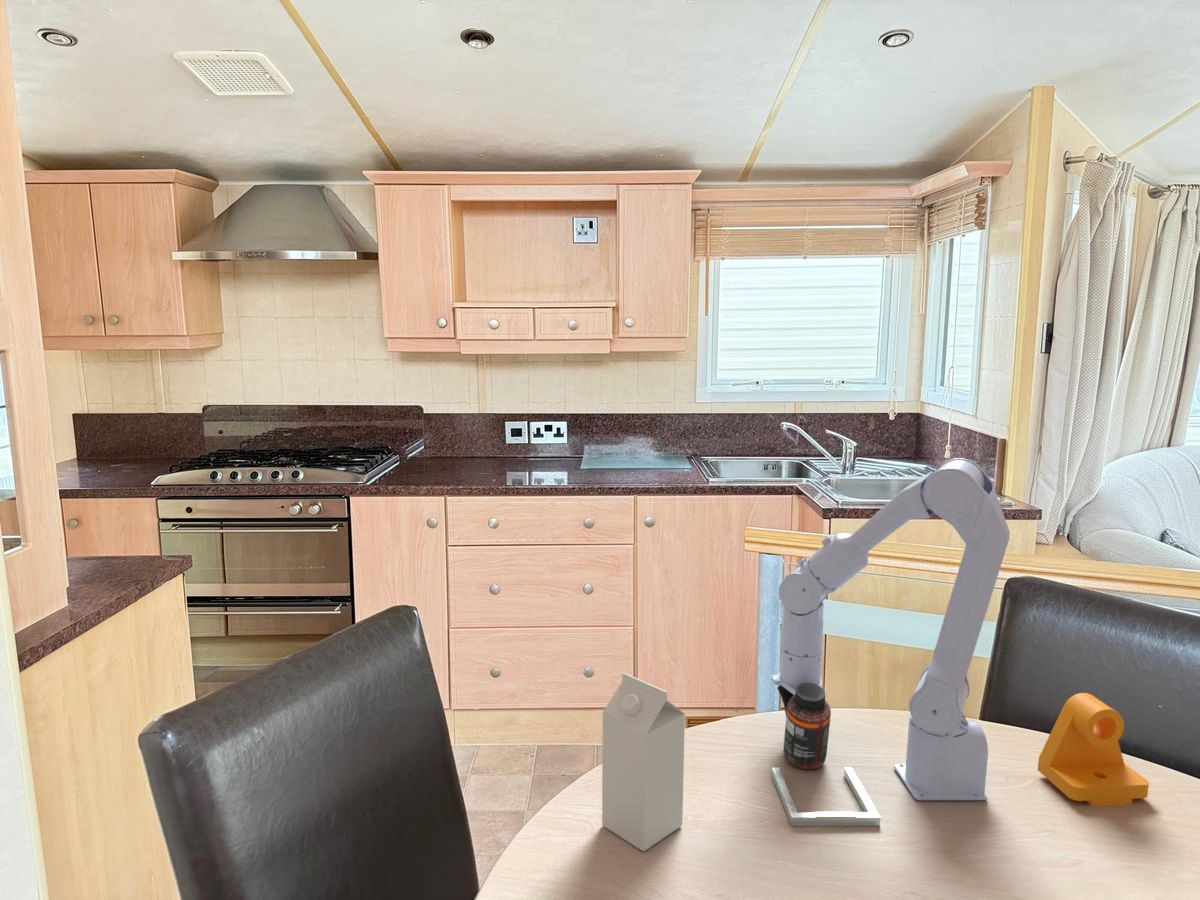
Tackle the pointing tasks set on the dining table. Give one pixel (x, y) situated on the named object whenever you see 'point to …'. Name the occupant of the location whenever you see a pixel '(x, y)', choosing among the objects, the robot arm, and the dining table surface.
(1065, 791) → the bracket
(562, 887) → the dining table surface
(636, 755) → the milk carton
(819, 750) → the supplement bottle
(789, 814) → the frame
